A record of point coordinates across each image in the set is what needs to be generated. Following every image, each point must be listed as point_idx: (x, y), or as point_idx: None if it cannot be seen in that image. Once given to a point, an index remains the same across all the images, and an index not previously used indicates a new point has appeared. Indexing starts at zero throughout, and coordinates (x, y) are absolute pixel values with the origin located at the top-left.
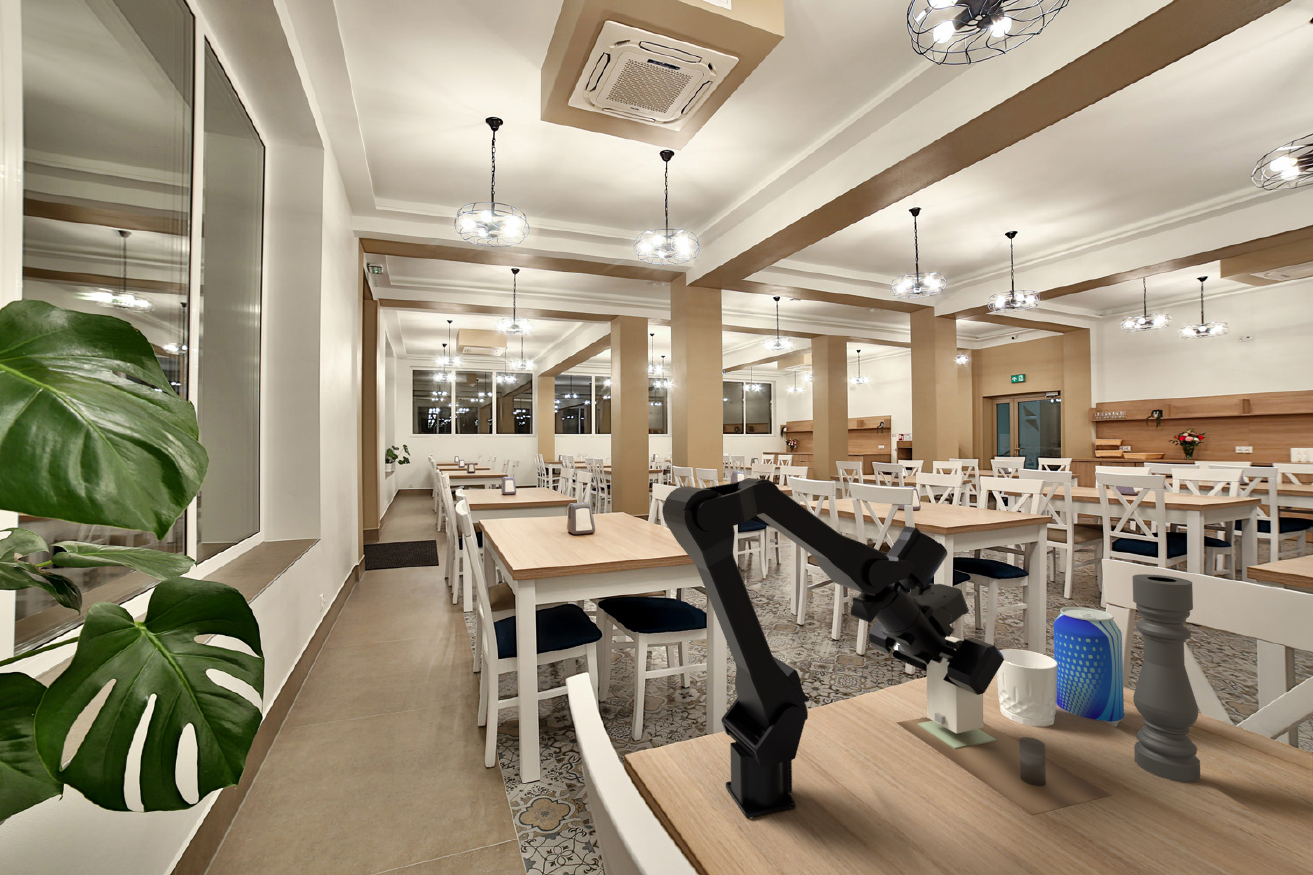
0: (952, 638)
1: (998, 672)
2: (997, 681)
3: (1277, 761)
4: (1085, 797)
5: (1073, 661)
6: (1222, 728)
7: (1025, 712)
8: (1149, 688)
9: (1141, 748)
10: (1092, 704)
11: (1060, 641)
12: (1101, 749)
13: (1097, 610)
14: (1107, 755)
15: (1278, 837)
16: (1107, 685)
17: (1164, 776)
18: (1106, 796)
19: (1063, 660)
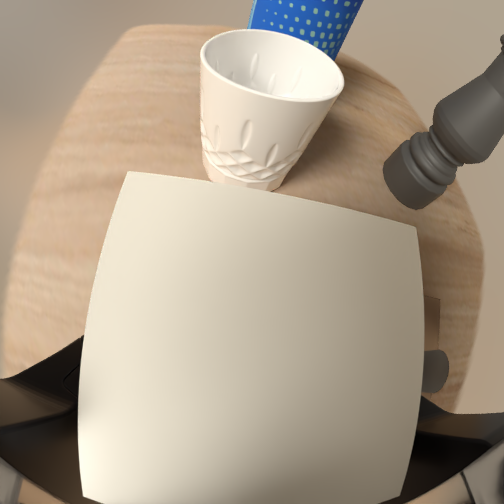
0: (157, 220)
1: (225, 116)
2: (213, 130)
3: (392, 90)
4: (434, 339)
5: (310, 34)
6: (342, 57)
7: (279, 173)
8: (490, 134)
9: (420, 177)
10: None
11: (293, 2)
12: (341, 159)
13: None
14: (354, 170)
15: (468, 218)
16: (334, 59)
17: (429, 201)
18: (439, 310)
19: (289, 32)
